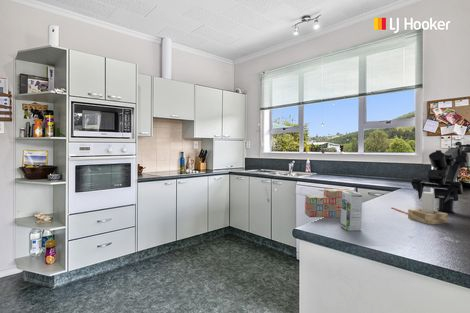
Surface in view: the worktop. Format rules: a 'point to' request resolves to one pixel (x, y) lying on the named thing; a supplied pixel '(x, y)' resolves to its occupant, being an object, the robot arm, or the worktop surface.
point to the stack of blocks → (324, 203)
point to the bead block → (427, 216)
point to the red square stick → (400, 210)
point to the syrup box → (351, 210)
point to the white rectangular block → (428, 202)
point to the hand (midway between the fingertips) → (431, 200)
